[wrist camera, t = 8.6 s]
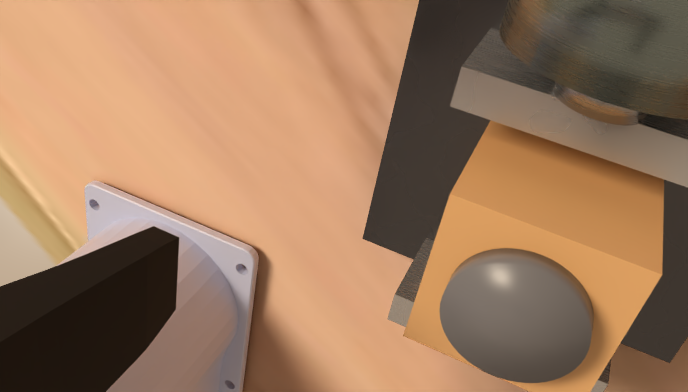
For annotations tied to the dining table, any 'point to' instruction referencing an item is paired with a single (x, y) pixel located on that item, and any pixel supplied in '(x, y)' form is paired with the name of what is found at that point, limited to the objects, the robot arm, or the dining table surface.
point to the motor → (541, 121)
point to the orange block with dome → (540, 262)
